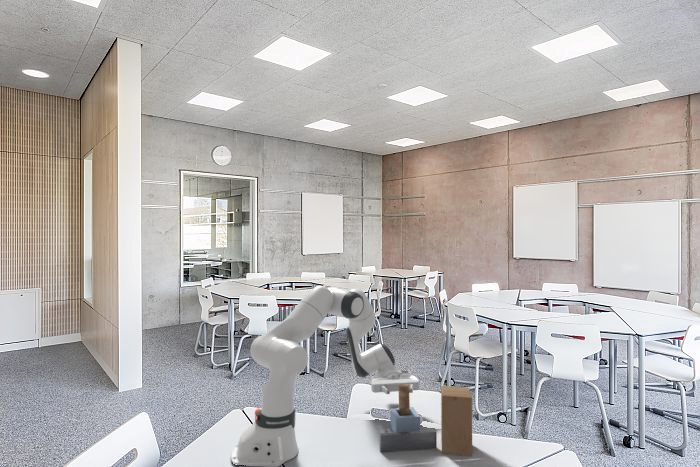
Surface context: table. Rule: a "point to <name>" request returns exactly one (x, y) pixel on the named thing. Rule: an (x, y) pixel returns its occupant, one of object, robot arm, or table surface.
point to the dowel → (404, 400)
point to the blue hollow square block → (404, 421)
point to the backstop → (407, 440)
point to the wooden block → (456, 420)
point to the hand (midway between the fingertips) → (399, 391)
